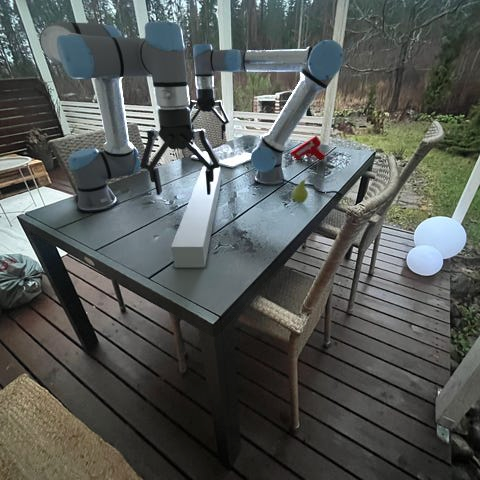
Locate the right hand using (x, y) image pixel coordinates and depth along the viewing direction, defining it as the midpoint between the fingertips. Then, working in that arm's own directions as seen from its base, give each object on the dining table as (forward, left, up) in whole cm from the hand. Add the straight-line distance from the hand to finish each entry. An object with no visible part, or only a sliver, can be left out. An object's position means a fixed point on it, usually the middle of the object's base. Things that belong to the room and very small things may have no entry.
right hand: (208, 139), depth 129 cm
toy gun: (-43, -57, -22) cm, 75 cm away
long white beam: (-10, +31, -22) cm, 39 cm away
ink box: (-14, -88, -22) cm, 92 cm away
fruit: (-47, +9, -22) cm, 52 cm away
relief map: (+10, -46, -22) cm, 52 cm away
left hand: (-20, +62, 0) cm, 65 cm away
